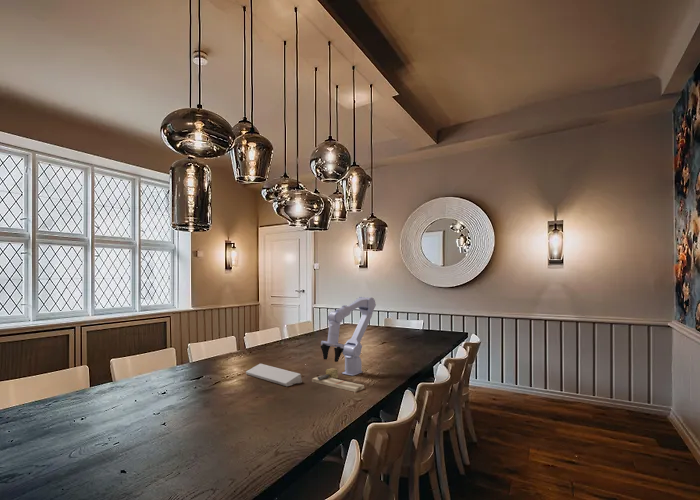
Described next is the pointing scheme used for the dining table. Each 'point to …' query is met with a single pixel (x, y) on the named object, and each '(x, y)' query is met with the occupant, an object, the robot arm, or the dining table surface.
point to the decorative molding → (275, 375)
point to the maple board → (339, 384)
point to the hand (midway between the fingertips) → (330, 360)
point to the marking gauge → (330, 374)
